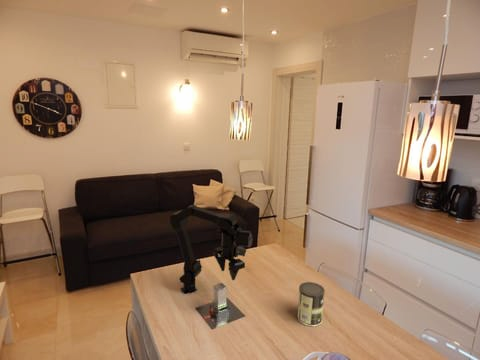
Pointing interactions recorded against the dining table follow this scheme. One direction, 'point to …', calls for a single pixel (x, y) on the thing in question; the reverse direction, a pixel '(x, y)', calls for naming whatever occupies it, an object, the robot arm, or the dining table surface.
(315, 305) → the coffee can
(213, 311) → the stand base
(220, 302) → the post
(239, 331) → the dining table surface
